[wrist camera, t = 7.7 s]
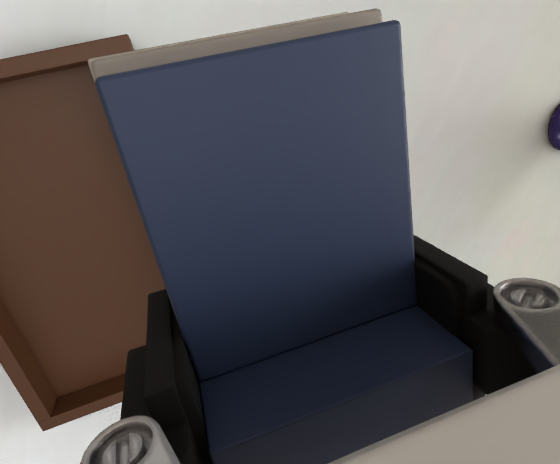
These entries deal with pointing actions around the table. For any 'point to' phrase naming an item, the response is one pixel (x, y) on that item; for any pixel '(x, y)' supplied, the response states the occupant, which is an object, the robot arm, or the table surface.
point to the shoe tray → (67, 238)
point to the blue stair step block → (286, 233)
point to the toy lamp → (555, 129)
